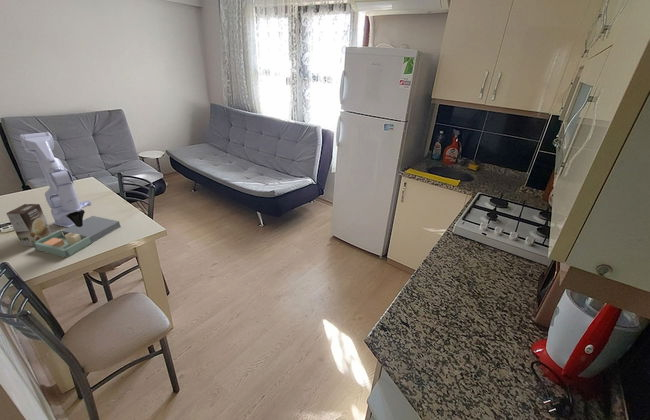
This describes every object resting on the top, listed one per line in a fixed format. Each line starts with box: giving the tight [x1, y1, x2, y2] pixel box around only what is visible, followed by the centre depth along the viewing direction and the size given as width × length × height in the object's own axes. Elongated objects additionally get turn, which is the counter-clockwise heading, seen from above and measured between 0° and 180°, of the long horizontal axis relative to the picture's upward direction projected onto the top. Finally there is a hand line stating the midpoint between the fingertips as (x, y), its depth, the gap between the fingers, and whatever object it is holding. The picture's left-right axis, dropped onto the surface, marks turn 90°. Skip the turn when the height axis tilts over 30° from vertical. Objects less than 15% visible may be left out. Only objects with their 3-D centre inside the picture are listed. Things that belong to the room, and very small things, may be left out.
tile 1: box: [44, 238, 65, 247], centre depth 126 cm, size 5×5×2 cm
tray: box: [33, 229, 93, 259], centre depth 127 cm, size 17×11×4 cm, turn 76°
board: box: [61, 215, 121, 244], centre depth 139 cm, size 16×15×3 cm
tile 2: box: [63, 233, 81, 246], centre depth 127 cm, size 5×5×2 cm
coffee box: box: [6, 203, 53, 247], centre depth 127 cm, size 9×6×16 cm
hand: (79, 226), depth 129 cm, fingers closed
